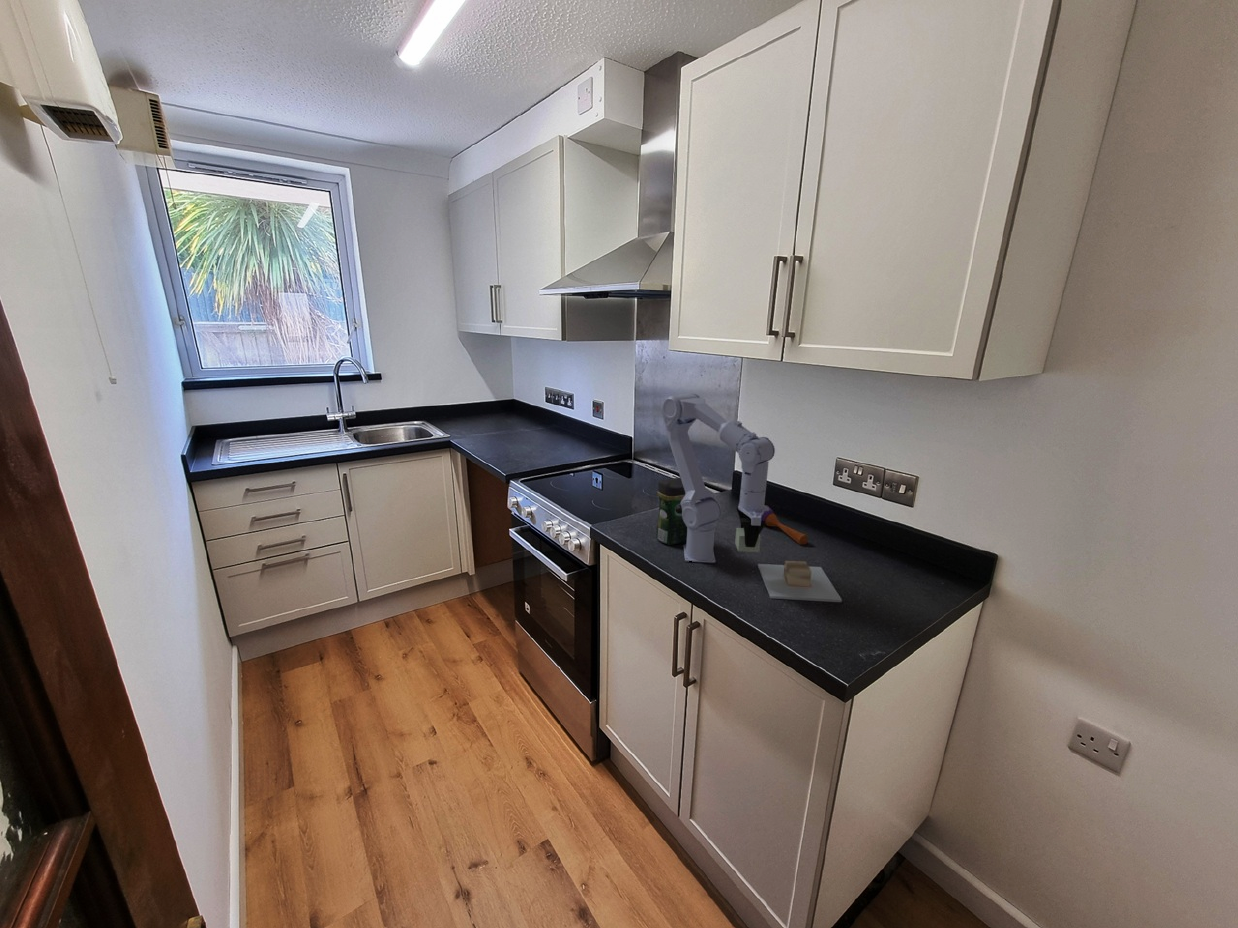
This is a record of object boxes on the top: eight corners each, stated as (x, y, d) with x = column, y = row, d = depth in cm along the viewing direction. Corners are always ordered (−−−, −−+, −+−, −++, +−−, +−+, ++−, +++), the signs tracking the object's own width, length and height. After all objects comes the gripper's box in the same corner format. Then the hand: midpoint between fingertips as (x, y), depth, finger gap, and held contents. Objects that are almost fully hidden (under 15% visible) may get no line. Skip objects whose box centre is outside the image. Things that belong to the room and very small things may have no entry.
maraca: (795, 534, 143) (750, 506, 160) (795, 552, 146) (750, 522, 162) (811, 528, 145) (765, 500, 162) (811, 545, 148) (765, 516, 164)
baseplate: (757, 565, 133) (758, 563, 133) (820, 569, 132) (820, 567, 131) (770, 598, 117) (770, 595, 117) (841, 602, 116) (841, 599, 116)
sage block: (735, 542, 127) (736, 527, 125) (755, 543, 126) (756, 528, 125) (738, 551, 122) (739, 535, 121) (759, 552, 121) (760, 536, 120)
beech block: (783, 575, 127) (785, 560, 126) (803, 576, 127) (805, 561, 125) (788, 585, 122) (790, 570, 121) (809, 586, 122) (811, 571, 121)
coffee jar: (677, 531, 153) (680, 472, 148) (694, 541, 147) (698, 480, 142) (651, 537, 149) (653, 477, 143) (666, 548, 142) (669, 485, 137)
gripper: (777, 500, 113) (771, 555, 116) (764, 480, 126) (759, 530, 130) (744, 498, 113) (739, 554, 117) (735, 478, 127) (731, 529, 131)
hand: (748, 541), depth 124 cm, fingers closed on sage block, 5 cm apart
